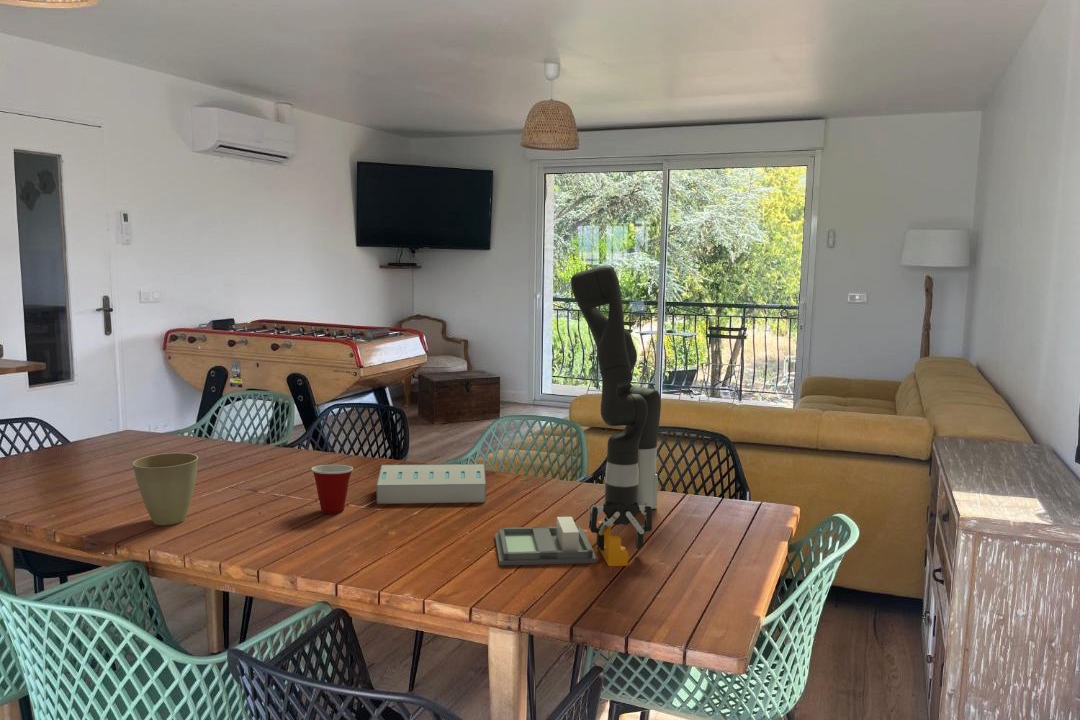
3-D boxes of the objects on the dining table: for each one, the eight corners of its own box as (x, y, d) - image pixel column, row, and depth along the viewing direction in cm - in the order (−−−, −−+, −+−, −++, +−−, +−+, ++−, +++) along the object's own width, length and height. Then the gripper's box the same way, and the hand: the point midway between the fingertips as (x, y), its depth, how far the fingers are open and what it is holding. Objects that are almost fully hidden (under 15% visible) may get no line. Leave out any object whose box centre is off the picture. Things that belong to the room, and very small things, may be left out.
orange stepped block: (627, 566, 176) (628, 538, 175) (608, 566, 175) (609, 539, 174) (615, 546, 188) (616, 520, 187) (597, 547, 187) (598, 521, 186)
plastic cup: (361, 506, 213) (361, 463, 212) (339, 519, 203) (339, 473, 202) (326, 502, 217) (326, 460, 215) (303, 514, 206) (302, 469, 205)
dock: (583, 535, 195) (584, 511, 194) (597, 562, 177) (597, 537, 176) (495, 537, 192) (495, 513, 191) (499, 565, 174) (499, 539, 174)
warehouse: (376, 505, 217) (376, 478, 216) (381, 489, 231) (381, 464, 230) (485, 503, 220) (485, 477, 219) (484, 488, 234) (484, 463, 233)
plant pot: (187, 507, 210) (185, 449, 208) (210, 521, 199) (207, 460, 197) (127, 520, 200) (124, 458, 198) (147, 535, 189) (144, 470, 187)
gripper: (648, 475, 184) (645, 542, 186) (588, 476, 182) (586, 543, 184) (656, 484, 176) (653, 554, 178) (594, 485, 175) (592, 555, 177)
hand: (619, 548), depth 181 cm, fingers open, 8 cm apart
